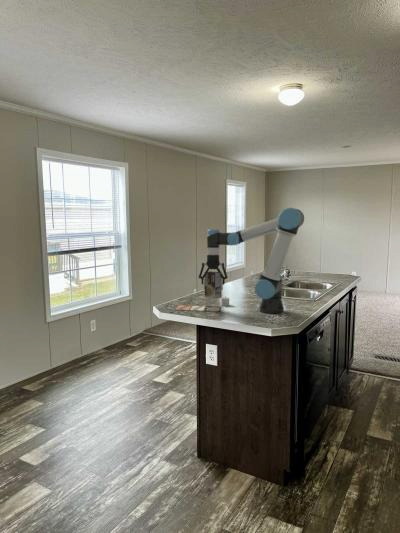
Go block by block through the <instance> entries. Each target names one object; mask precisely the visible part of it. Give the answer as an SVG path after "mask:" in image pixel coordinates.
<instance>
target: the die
mask: <svg viewBox="0 0 400 533" xmlns="http://www.w3.org/2000/svg"><path fill="white" fill-rule="evenodd" d="M219 305H220V307H229V306H230V297H228V296H221V298H219Z"/></svg>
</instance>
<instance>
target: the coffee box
mask: <svg viewBox="0 0 400 533" xmlns="http://www.w3.org/2000/svg"><path fill="white" fill-rule="evenodd" d="M221 273H222V271H221ZM222 274H223V273H222ZM204 279H205V290H204V298H208V299H213V300H217V299H220V298H221V297H222V290H221V280H222V277H221V276H220V272H218V271H213V270H211V271H210V270H209V271H208V272H207V274H206V275H205V277H204Z"/></svg>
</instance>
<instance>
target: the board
mask: <svg viewBox="0 0 400 533" xmlns="http://www.w3.org/2000/svg"><path fill="white" fill-rule="evenodd" d="M221 307H222V306H218V305H217V306H215V305H213V306H212V305H196V304H195V305H194V304H193V305H190V304H177V305H176V306H175V307H174V309H173V310H174V311H181V312H182V311H183V312H185V311H186V312H188V311H189V312H204V313H205V312H208V313H209V312H210V313H220V311H221ZM206 308H218V310H206Z"/></svg>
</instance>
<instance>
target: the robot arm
mask: <svg viewBox="0 0 400 533" xmlns="http://www.w3.org/2000/svg"><path fill="white" fill-rule="evenodd" d="M304 222H305V215H304V213H303V211H301V210H300V209H298V208H294V207H287V208H285V209H282V211H281V212H280V213H279V215H278V217H277V218H274V219H271V220H268V221H265V222H262V223H259V224H256V225H252V226H250V227H247V228H244V229H241V230H237V231H235V232H220V230H219V229H218V228H217V229H215V228H214V229H207V231H206V234H207V235H206V245H207V246H206V254H207V255H206V262H202V263H201V269H200V272H199V274H198V278H199V279H200V281H201V285H202V286H203V287H202V290H203V291H205V275H206V274H207V272H210V270H216V272H220V276H221V291H223V289H224V285H225V280H226V279H228V277H229V276H228V275H227V270H226V269H225V268H226V267H225V262H220V246H237V245H239V244H241V243H244V242H247V241H250V240H254V239H257V238H261V237H264V236H267V235H269V234H273V233H276V232H277V234H276V236H275V241H274V243H273V246H272V248H271V251H270V255H269V257H268V261H267V263H266V267H265V269H264V271H262V272H260V276H259V279H258V281H257V282H256V283H255V286H254V292H255V295H256V297H257V296H258V298H261V302H260V304H259V307H258V308H259V309H258V311H259V312H261V313H264V314H273V313H277V314H282V313H281V312H283V313H285V307H284V303H283V300H282V295H283V276H282V275H281V274H280V273H281V271H282V268H283V265H284V262H285V261H286V260H285V259H286V257H287V254H288V252H289V248H290V246H291V242H292V240H293V237H295V236H297V234H298V231H299V228H300V227H302V225H303V224H304ZM205 267H207V269H206V270H205V269H204V268H205ZM219 267H221V269H222V271H223V273H221V272H222V271H221V269H220V268H219ZM204 270H205V272H204ZM203 272H204V273H203Z"/></svg>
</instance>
